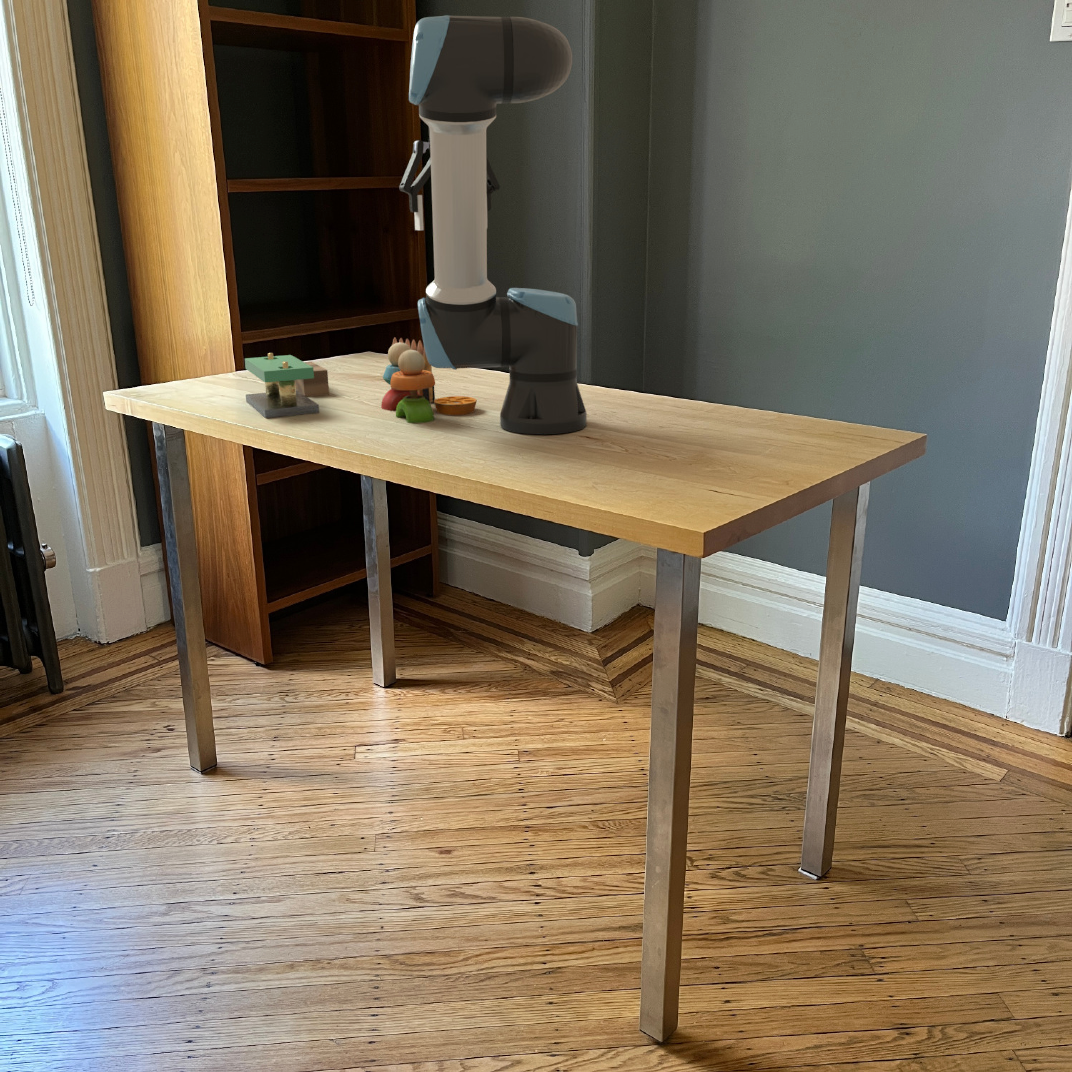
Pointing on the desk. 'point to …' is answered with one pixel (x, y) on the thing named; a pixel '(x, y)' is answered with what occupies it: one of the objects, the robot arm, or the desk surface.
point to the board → (279, 368)
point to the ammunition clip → (428, 392)
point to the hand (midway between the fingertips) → (451, 229)
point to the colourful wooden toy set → (416, 388)
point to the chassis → (281, 399)
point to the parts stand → (314, 382)
